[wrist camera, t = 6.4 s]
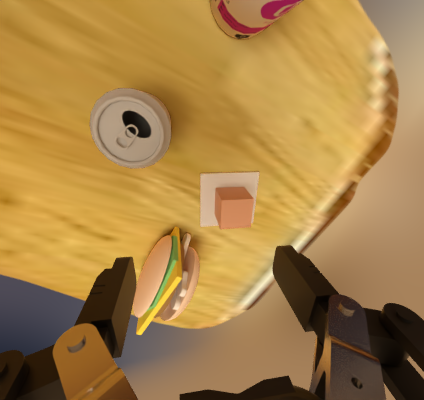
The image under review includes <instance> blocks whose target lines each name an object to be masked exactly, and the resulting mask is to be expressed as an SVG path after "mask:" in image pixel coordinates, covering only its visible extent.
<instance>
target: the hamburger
mask: <svg viewBox="0 0 424 400" xmlns="http://www.w3.org/2000/svg"><path fill="white" fill-rule="evenodd" d="M190 239H191V235H190V234H188V233H186V234H185V235H184V237H183V239H182V241H181V243H180V235H179V228H178V227H176V226H175V228H174V229H173V231H172V232H171V234H170V235H167V236H164V237H163V238H161V239H160V240H159V241H158V242H157V244H156V245H155V246H154V248H153V249H152V251H151V253H150V254H149V256H148V258H147V260H146V262H145V264H144V266H143V269H142V271H141V274H140V276H139V279H138V283H137V286H136V292H135V297H134V302H133V309H134V314H135V316H136V317H139V319H138V325H137V331H136V334H139V335H141V334H142V333H143V332H144V330H145V329H146V327H147V326H148V325H149V323H150V322H151V321H152V319H153V318H156V317H158V316H160V317H161V319H162V320H164V321H169V320H172V319H174V318H176V317H177V316H178V315H180V314H181V313H182V311H183V310H184V309H185V308H186V306H187V305H188V303H189V302H190V300H191V298H192V296H193V294H194V291H195V289H196V286H197V282H198V278H199V268H200V266H199V258H198V254H197V252H196V251H195V250H194V249H193V248H192V247H190V246H188V245H189V242H190Z"/></svg>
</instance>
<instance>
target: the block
mask: <svg viewBox="0 0 424 400" xmlns="http://www.w3.org/2000/svg"><path fill="white" fill-rule="evenodd" d="M253 204H254V198H253V197H252V196H251V194H250V193H249V192H248V191H247V190H246V189H245V187H223V188H215V212H214V214H215V217H216V219H217V222H218V224H219V227H220V229H230V228H244V227H251V220H252V212H253Z"/></svg>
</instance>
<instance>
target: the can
mask: <svg viewBox="0 0 424 400" xmlns="http://www.w3.org/2000/svg"><path fill="white" fill-rule="evenodd" d="M90 129H91V134H92V138H93V140H94V142H95V144H96V145H97V147H98V149H99V150H100V151H101V152H102V153H103V154H104V155H105V156H106V157H107V158H108V159H109V160H111V161H113V162H114V163H116V164H118V165H120V166H124V167H128V168H145V167H147V166H150V165H153V164H155V163H156V162H157V161H159V160H160V159H161V158H162V157H163V156H164V154H165V153H166V151H167V150H168V148H169V144H170V140H171V119H170V115H169V112H168V110H167V108H166V107H165V105H164V104H163V103H162V101H161V100H159V99H158V98H157V97H155V96H154V95H152V94H149V93H146V92H143V91H140V90H136V89H132V88H118V89H115V90H112V91H109V92H107V93H105V94H104V95H103V96H102V97H101V98H100V99H98V100H97V101H96V103H95V105H94V107H93V109H92V111H91V117H90Z"/></svg>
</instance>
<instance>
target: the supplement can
mask: <svg viewBox="0 0 424 400" xmlns="http://www.w3.org/2000/svg"><path fill="white" fill-rule="evenodd" d="M302 1H303V0H210V4H211V9H212V13H213V15H214V17H215V19H216V21H217V23H218V25H219V27H220V28H221V29H222V30H223V31H224V32H225V33H226V34H227V35H229V36H232V37H234V38H237V39H249V38H251V37H253V36H255V35H257V34H259V33H260V32H262V31H263V30H264V29H266V28H267V27H268V26H270V25H271V24H272V23H274V22H275V21H276V20H278V19H279V18H280V17H282V16H283V15H284V14H286V13H287V12H288V11H290V10H291V9H292V8H294V7H295V6H296V5H298V4H299V3H300V2H302Z"/></svg>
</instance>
